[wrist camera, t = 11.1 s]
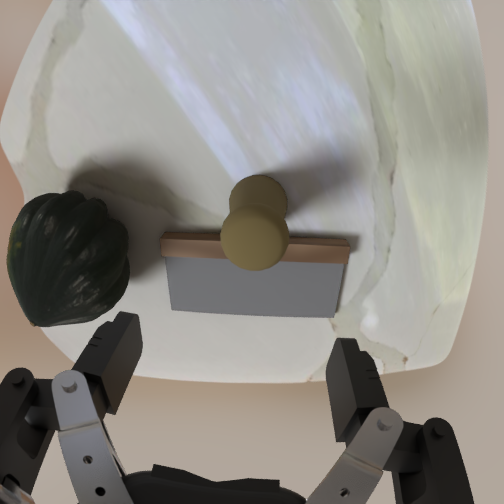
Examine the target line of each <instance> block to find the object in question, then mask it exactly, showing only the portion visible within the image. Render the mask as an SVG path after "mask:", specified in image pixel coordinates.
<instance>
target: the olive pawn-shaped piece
mask: <svg viewBox="0 0 504 504" xmlns="http://www.w3.org/2000/svg"><path fill="white" fill-rule="evenodd" d="M229 205H230V214H229V215H228V216H227V218H226V219H225V221H224V223H223V226H222V229H221V233H220V237H221V246H222V248H223V251H224V253H225V255H226V257H227V258H228V259H229V260H230V261H231V262H232V263H233V264H235V265H236V266H238V267H239V268H242V269H245V270H249V271H261V270H265V269H268V268H271V267H272V266H274V265H275V264H277V263H278V262H279V261H280V260H281V259H282V257H283V256H284V255H285V253H286V250H287V247H288V245H289V230H288V227H287V224H286V221H285V220H284V218H285V214H286V210H287V197H286V194H285V191H284V189H283V188H282V187H281V185H280V184H279V183H278V182H276V181H275V180H274V179H272V178H270V177H267V176H264V175H252V176H249V177H246V178H244V179H242V180H241V181H240V182H238V183H237V184H236V186H235V187H234V188H233V190H232V192H231V195H230V198H229Z"/></svg>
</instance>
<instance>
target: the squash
mask: <svg viewBox="0 0 504 504" xmlns="http://www.w3.org/2000/svg"><path fill="white" fill-rule="evenodd" d="M107 216H108V214H107V207H106V204H105V203H104V202H103V201H102V200H101V199H96V198H92V199H90V200H86V198H85V197H84V195H83V194H81V193H80V192H78V191H74V190H72V191H68V192H65V193H62V194H58V193H47V194H44V195H41V196H38V197H36V198H34V199H32V200H31V201H29V202H28V203H27V204H25V206H24V207H23V208H22V210H21V211H20V213H19V215H18V217H17V219H16V221H15V222H14V224H13V226H12V230H11V233H10V238H9V245H8V254H7V269H8V274H9V278H10V281H11V284H12V287H13V289H14V292H15V294H16V297H17V299H18V301H19V304H20V306H21V308H22V310H23V312H24V314H25V316H26V317H27V318H28V320H29V321H30V324H31V325H32V326H39V327H51V326H57V325H68V324H78V323H85V322H89V321H93V320H95V319H96V318H98V317H100V316H101V315H102V314H104V313H106V312H108V311H109V310H111V309H112V308H113V307H114V306H115V304H116V303H117V302H118V301H119V300H120V299H121V297H122V296H123V294H124V293H125V291H126V288H127V286H128V282H129V275H130V267H129V261H128V258H127V256H126V255H127V250H128V239H129V237H128V232H127V229H126V228H125V226H124V225H123V224H121V223H120V222H119V221H117V220H115V219H111V218H107Z"/></svg>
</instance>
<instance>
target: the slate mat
mask: <svg viewBox="0 0 504 504" xmlns="http://www.w3.org/2000/svg"><path fill="white" fill-rule="evenodd" d="M165 260H166V269H167V278H168V286H169V294H170V302H171V309H172V310H177V311H189V312H203V313H217V314H234V315H253V316H278V317H319V318H334V315H335V310H336V306H337V301H338V295H339V290H340V285H341V279H342V274H343V268H344V264H334V263H308V262H283V261H279V262H278V263H277V264H275V265H274V266H272V267H271V268H268V269H265V270H261V271H249V270H245V269H242V268H239V267H238V266H236V265H235V264H233V263H232V262H231V261H230V260H229V259H214V258H192V257H171V256H165Z"/></svg>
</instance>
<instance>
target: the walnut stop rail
mask: <svg viewBox="0 0 504 504" xmlns="http://www.w3.org/2000/svg"><path fill="white" fill-rule="evenodd" d="M160 247H161V256H171V257H192V258H214V259H228V258H227V257H226V255H225V253H224V251H223V248H222V246H221V237H220V234H210V233H180V232H165V233H164V234H163V235H162V237H161V238H160ZM349 252H350V245H349V244H348V242H347V240H346V239H327V238H307V237H289V245H288V247H287V250H286V253H285V255H284V256H283V257H282V259H281V260H280V261H283V262H308V263H334V264H348V258H349Z"/></svg>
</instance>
